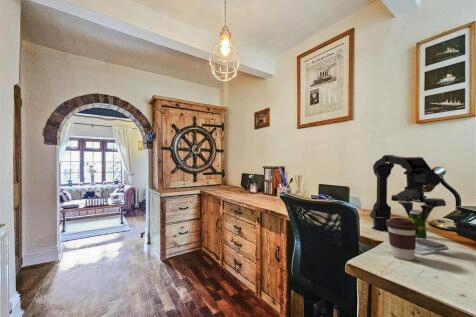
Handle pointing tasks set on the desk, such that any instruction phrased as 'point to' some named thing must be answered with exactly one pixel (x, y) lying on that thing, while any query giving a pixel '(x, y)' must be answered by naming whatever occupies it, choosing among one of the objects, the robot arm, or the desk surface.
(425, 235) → the green soda can
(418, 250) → the mat
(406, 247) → the coffee cup
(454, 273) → the desk surface
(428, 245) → the ink pad
